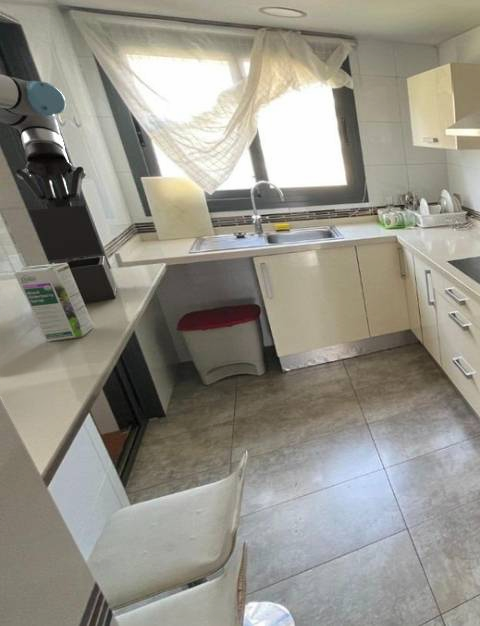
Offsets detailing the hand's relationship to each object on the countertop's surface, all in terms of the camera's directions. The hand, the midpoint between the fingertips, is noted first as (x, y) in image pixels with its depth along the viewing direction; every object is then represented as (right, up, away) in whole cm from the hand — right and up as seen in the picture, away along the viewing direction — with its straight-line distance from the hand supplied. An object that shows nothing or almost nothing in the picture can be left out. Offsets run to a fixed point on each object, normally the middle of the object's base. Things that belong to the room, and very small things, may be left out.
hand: (65, 221), depth 117 cm
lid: (+3, -3, -2) cm, 5 cm away
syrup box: (+26, -28, -23) cm, 45 cm away
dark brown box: (+8, -19, -1) cm, 21 cm away
